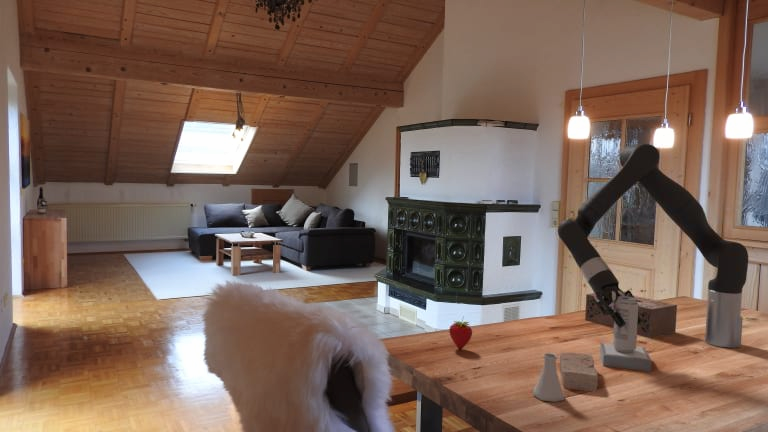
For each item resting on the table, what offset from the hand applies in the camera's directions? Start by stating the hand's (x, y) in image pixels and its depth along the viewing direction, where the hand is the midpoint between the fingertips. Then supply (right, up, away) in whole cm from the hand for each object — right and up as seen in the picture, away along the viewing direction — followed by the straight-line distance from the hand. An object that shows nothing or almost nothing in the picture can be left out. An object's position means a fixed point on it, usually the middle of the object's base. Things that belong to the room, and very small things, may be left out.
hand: (631, 324), depth 151 cm
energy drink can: (-1, -8, +2) cm, 8 cm away
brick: (-19, -12, -12) cm, 25 cm away
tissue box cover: (+18, -9, +41) cm, 46 cm away
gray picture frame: (-1, -11, +2) cm, 11 cm away
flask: (-31, -12, -24) cm, 41 cm away
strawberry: (-47, -10, +11) cm, 49 cm away
